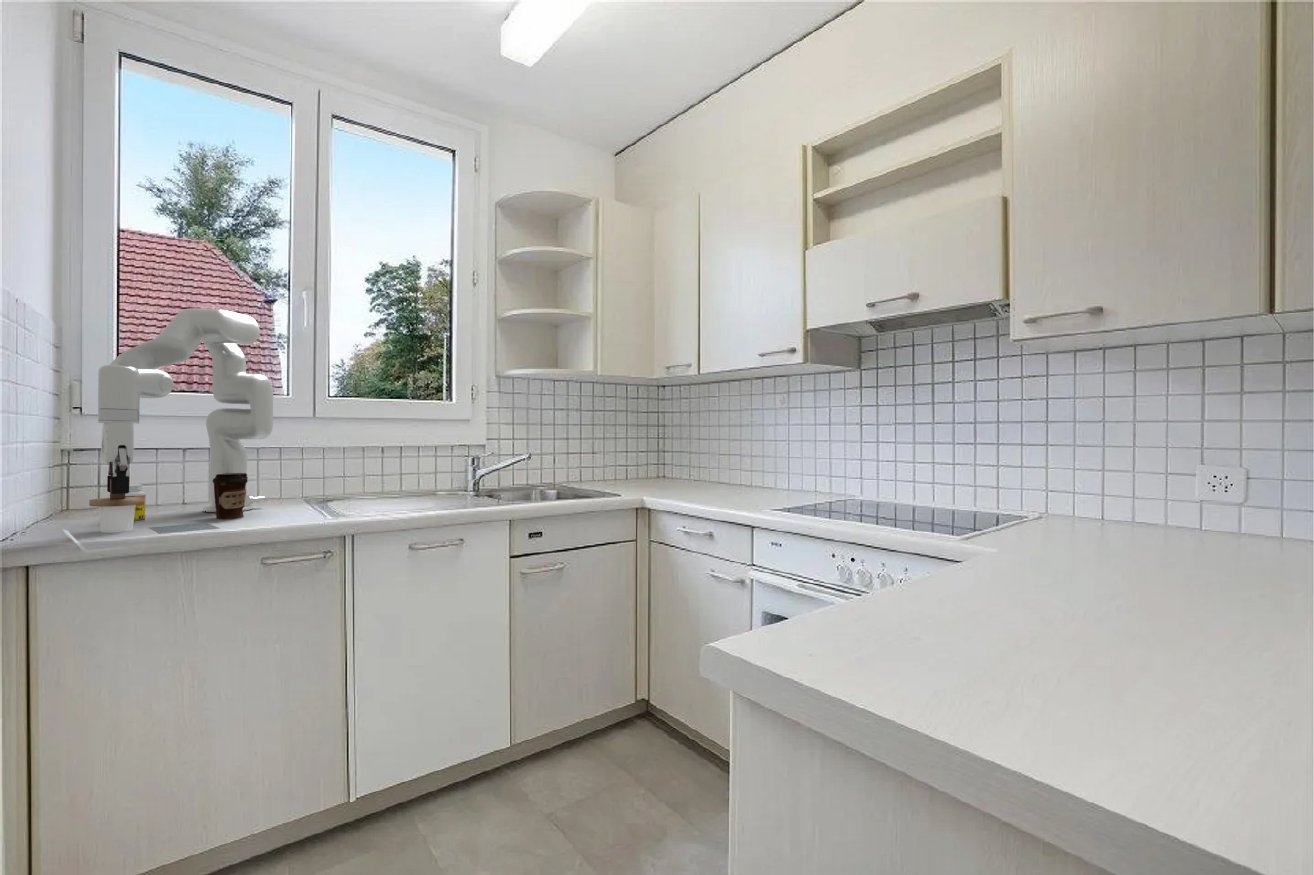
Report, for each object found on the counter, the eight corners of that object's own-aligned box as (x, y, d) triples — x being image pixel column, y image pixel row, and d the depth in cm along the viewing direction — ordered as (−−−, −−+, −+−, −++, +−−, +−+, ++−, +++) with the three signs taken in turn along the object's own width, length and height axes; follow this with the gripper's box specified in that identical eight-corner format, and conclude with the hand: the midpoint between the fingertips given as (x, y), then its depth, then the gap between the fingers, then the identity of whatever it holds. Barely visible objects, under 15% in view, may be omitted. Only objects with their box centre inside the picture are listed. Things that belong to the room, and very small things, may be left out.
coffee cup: (255, 519, 174) (256, 473, 174) (224, 522, 166) (224, 474, 166) (236, 516, 177) (237, 472, 177) (205, 520, 170) (205, 473, 170)
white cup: (126, 534, 145) (126, 505, 145) (90, 535, 144) (91, 505, 143) (141, 530, 152) (141, 502, 152) (107, 531, 150) (108, 502, 150)
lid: (139, 500, 155) (139, 477, 155) (149, 504, 148) (149, 479, 148) (85, 503, 147) (86, 478, 147) (93, 507, 141) (93, 481, 141)
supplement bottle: (118, 525, 159) (118, 485, 159) (116, 522, 163) (117, 484, 163) (146, 523, 163) (146, 485, 162) (144, 521, 167) (144, 483, 166)
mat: (207, 525, 162) (207, 522, 162) (219, 530, 154) (219, 528, 154) (148, 529, 153) (148, 527, 153) (159, 535, 145) (159, 533, 145)
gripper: (92, 416, 150) (91, 490, 150) (103, 416, 139) (102, 496, 139) (132, 417, 156) (131, 489, 156) (146, 417, 145) (145, 494, 145)
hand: (118, 491), depth 148 cm, fingers open, 4 cm apart
